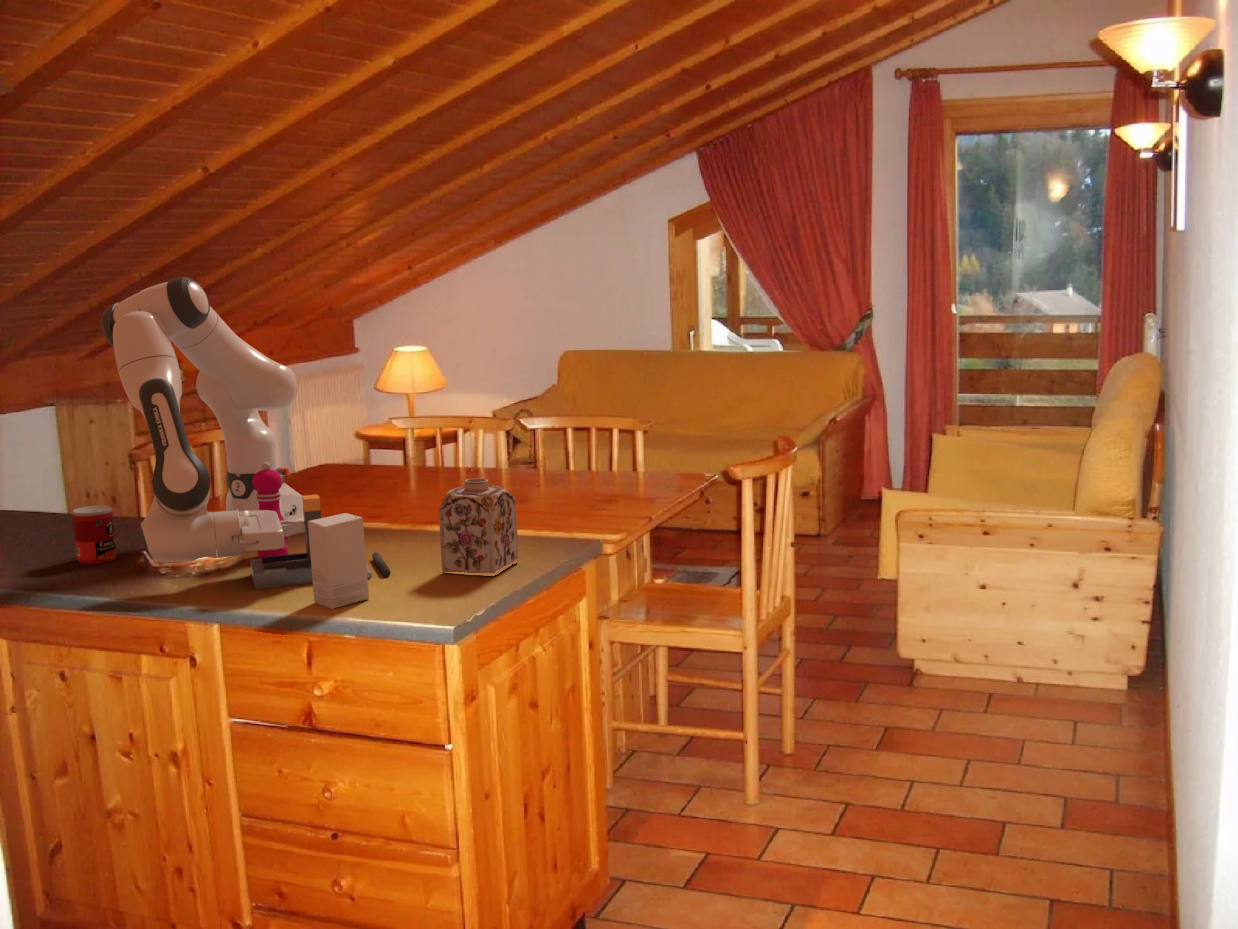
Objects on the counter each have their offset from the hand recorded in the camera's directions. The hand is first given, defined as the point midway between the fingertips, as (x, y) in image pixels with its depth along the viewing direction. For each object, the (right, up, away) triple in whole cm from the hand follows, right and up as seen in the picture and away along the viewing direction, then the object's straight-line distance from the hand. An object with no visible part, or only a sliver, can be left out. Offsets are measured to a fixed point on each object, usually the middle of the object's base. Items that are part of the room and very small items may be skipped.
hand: (305, 526), depth 247 cm
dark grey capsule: (+12, -9, +6) cm, 16 cm away
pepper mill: (-11, -7, +19) cm, 23 cm away
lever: (+2, -6, +2) cm, 7 cm away
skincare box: (+11, -13, -17) cm, 24 cm away
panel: (-1, -10, +1) cm, 10 cm away
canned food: (-49, -8, +20) cm, 53 cm away
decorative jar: (+34, -9, +4) cm, 35 cm away
